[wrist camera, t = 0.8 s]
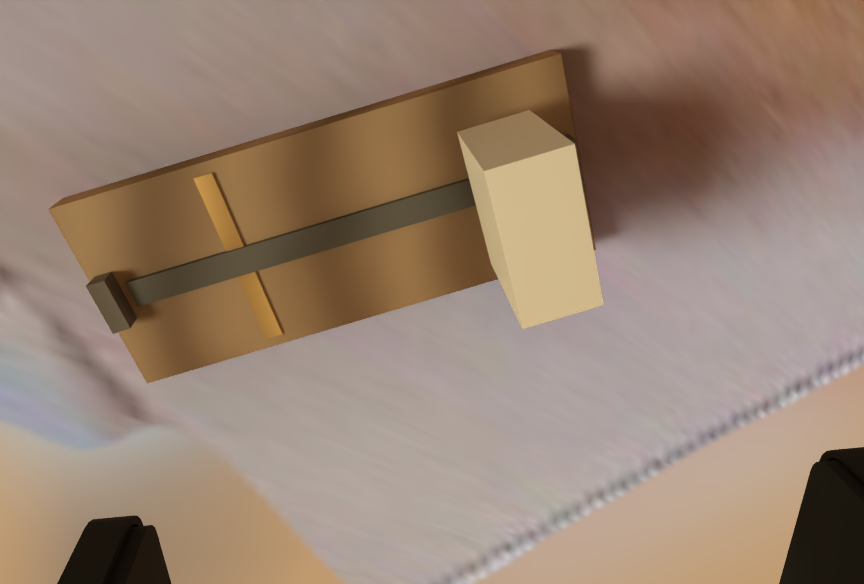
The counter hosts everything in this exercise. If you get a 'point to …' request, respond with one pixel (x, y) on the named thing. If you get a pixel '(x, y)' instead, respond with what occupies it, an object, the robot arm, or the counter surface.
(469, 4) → the counter surface
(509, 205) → the fader cap
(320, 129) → the fader board
